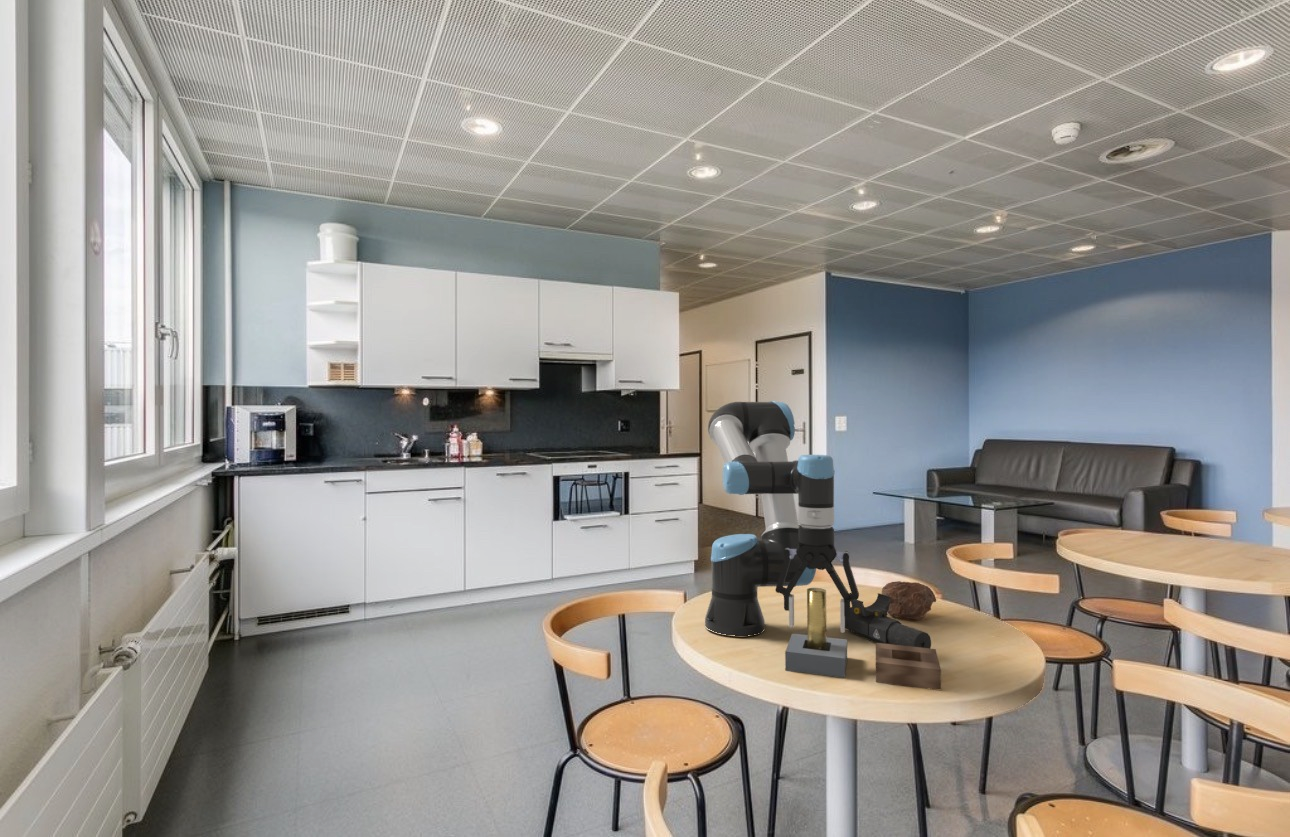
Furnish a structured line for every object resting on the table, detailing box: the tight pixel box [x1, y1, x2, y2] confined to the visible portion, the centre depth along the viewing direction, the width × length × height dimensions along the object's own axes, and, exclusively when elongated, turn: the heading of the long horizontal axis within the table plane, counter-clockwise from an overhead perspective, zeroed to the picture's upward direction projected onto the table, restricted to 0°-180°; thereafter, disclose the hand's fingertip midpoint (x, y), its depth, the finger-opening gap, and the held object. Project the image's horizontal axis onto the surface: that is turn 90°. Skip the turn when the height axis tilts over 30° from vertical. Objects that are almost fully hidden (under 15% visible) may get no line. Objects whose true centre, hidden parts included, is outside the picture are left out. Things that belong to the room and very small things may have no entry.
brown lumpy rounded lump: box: [881, 580, 937, 621], centre depth 170 cm, size 13×11×10 cm
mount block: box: [784, 633, 848, 679], centre depth 137 cm, size 12×12×4 cm
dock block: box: [875, 642, 942, 690], centre depth 131 cm, size 12×12×4 cm
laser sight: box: [845, 593, 932, 649], centre depth 150 cm, size 10×22×10 cm, turn 27°
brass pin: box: [806, 587, 827, 651], centre depth 137 cm, size 4×4×16 cm
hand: (816, 628), depth 137 cm, fingers open, 10 cm apart
